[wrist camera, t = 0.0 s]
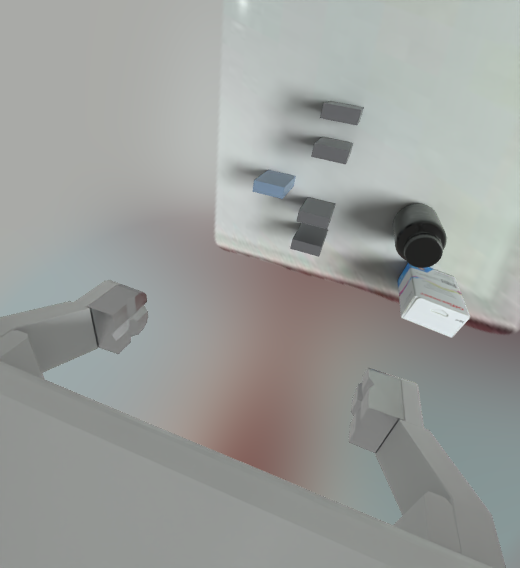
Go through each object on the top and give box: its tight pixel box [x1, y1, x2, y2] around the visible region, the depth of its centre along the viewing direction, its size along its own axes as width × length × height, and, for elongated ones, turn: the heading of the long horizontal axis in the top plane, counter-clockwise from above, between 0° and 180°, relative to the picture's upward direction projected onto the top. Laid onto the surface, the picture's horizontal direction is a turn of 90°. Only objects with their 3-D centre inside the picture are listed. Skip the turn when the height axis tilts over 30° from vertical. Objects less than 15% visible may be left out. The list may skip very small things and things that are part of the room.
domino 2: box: [320, 101, 364, 125], centre depth 44 cm, size 2×5×8 cm, turn 80°
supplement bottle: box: [393, 204, 446, 268], centre depth 48 cm, size 7×7×12 cm
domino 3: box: [311, 137, 353, 164], centre depth 47 cm, size 2×5×8 cm, turn 79°
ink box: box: [398, 263, 470, 337], centre depth 52 cm, size 9×5×12 cm, turn 74°
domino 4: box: [297, 197, 335, 229], centre depth 53 cm, size 2×5×8 cm, turn 80°
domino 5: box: [290, 223, 328, 256], centre depth 56 cm, size 2×5×8 cm, turn 79°
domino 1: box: [253, 170, 296, 199], centre depth 53 cm, size 2×5×8 cm, turn 79°
